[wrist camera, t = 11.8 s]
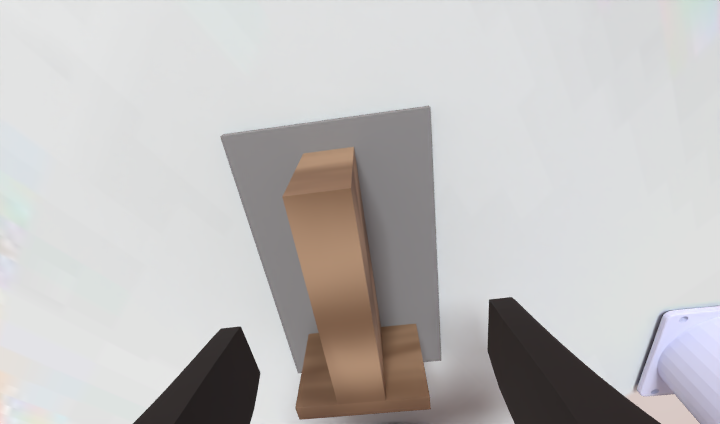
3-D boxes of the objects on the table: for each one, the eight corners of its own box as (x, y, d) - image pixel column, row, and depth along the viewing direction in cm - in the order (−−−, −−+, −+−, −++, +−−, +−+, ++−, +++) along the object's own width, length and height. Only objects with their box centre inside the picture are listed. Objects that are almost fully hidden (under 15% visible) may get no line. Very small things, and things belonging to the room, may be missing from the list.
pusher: (258, 159, 17) (222, 204, 13) (400, 140, 17) (414, 180, 12) (311, 344, 23) (299, 419, 19) (417, 334, 22) (430, 409, 18)
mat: (428, 105, 16) (430, 107, 16) (440, 355, 24) (441, 360, 24) (223, 134, 17) (220, 136, 16) (299, 368, 25) (298, 373, 24)
